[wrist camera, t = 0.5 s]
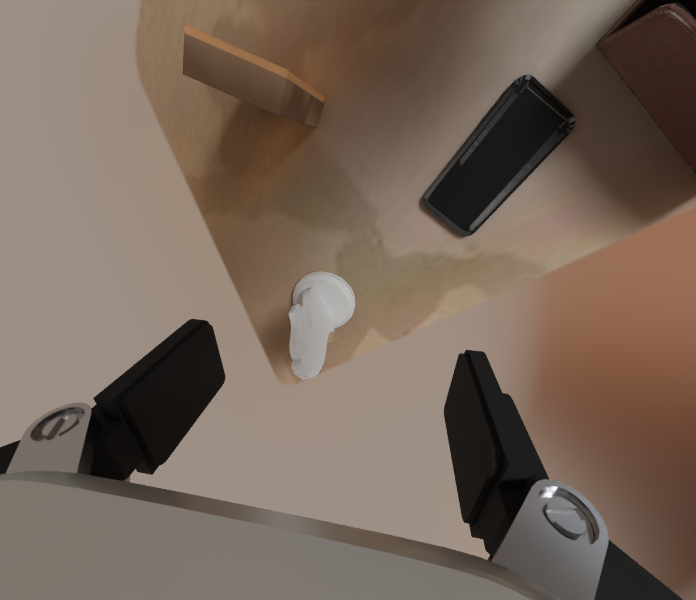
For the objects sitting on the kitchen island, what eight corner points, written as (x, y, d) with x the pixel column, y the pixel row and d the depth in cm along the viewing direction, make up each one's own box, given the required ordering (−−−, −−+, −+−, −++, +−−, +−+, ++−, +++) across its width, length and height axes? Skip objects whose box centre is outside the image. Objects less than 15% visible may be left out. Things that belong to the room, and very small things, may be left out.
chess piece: (339, 262, 40) (311, 316, 27) (365, 317, 43) (351, 388, 30) (282, 283, 43) (232, 340, 30) (311, 333, 46) (278, 403, 33)
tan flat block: (257, 67, 30) (185, 24, 20) (325, 97, 31) (288, 70, 20) (252, 99, 32) (182, 74, 21) (317, 127, 32) (279, 116, 22)
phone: (580, 121, 28) (467, 239, 35) (574, 122, 29) (465, 237, 36) (524, 68, 26) (418, 201, 33) (519, 71, 27) (418, 200, 34)
